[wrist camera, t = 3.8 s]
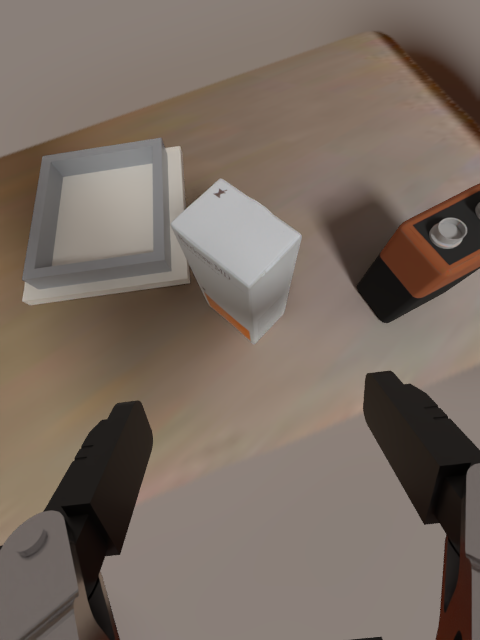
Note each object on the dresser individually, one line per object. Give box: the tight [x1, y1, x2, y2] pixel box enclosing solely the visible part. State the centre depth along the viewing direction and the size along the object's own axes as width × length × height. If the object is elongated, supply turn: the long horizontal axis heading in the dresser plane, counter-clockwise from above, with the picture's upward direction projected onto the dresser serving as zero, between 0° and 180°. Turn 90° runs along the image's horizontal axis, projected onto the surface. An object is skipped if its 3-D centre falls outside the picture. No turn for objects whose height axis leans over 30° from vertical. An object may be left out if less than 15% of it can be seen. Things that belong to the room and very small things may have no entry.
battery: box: [357, 184, 480, 323], centre depth 21 cm, size 4×7×10 cm, turn 117°
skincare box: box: [170, 179, 302, 344], centre depth 20 cm, size 6×4×12 cm
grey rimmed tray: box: [22, 138, 190, 305], centre depth 29 cm, size 16×17×3 cm
